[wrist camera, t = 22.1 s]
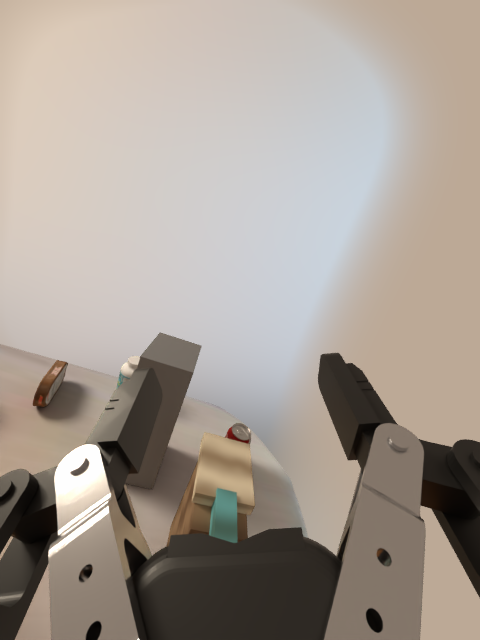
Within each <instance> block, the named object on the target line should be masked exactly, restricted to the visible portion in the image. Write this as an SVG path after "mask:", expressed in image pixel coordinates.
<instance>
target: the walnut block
mask: <svg viewBox="0 0 480 640" xmlns="http://www.w3.org/2000/svg"><path fill="white" fill-rule="evenodd" d="M197 465H198V462H197V464H196V467H195V469H194V472H193V474H192V476H191V479H190V481H189V484H188V486H187V488H186V491H185V493H184V496H183V498H182V500H181V503H180V505H179V508H178V510H177V513H176V515H175V517H174V520H173V522H172V525H171V528H170V533H169V538H168V542H167V546H169V542H170V536H171V535H181V534H198V533H203V534H206V535H209V531H210V519H211V506H207V505H202V504H198V503H193V502H192V496H193V490H194V484H195V477H196V471H197ZM247 538H248V535H247V516H246V514H242V513H238V512H237V541H238V542H240V541H242V540H245V539H247Z"/></svg>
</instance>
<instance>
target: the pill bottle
mask: <svg viewBox="0 0 480 640" xmlns="http://www.w3.org/2000/svg"><path fill="white" fill-rule="evenodd" d="M139 360H140V357H138V356H133V357H130V358H129V359H128V362H127V363H125V364H124V365H123V366H122V367H121V371H120V375H119V379H118V384H117V388H118V387H119V386H120V385H121V384H122V383H123V382H124V381H129V379H130V377H131V375H132V373H133V372H134V370H135V369H137V367H138V363H139ZM117 388H116V389H117Z"/></svg>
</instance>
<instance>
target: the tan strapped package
mask: <svg viewBox="0 0 480 640" xmlns="http://www.w3.org/2000/svg"><path fill="white" fill-rule="evenodd" d="M192 502H193V503H198V504H202V505H207V506H211V519H210V531H209V535H210V536H213V537H216V538H219V539H223V540H226V541H229V542H233V543H237V542H238V541H237V512H238V513H242V514H247V515H250V514H251V512H252V511H253V509H254V507H255V501H254V490H253V478H252V466H251V454H250V444H247V443H243V442H239V441H236V440H232V439H228V438H225V437H221V436H217V435H213V434H210V433H206V432H205V433H204V435H203V438H202V440H201V446H200V452H199V459H198V465H197V471H196V477H195V484H194V490H193V496H192Z"/></svg>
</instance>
